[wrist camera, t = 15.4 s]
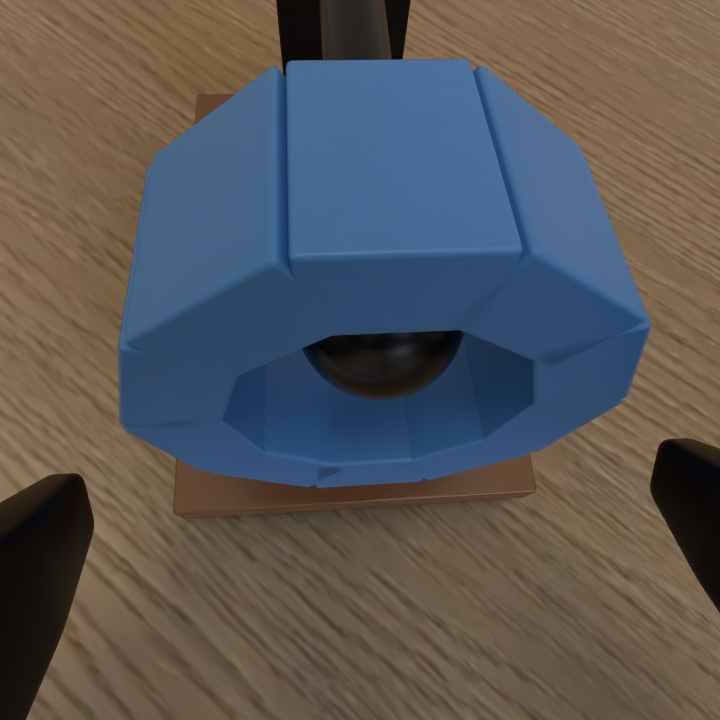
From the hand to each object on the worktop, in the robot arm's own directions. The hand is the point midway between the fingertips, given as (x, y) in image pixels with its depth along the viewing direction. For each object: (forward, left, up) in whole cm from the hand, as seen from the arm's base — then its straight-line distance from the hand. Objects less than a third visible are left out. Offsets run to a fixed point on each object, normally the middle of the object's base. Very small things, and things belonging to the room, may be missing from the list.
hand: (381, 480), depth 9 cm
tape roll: (+2, +1, -3) cm, 3 cm away
